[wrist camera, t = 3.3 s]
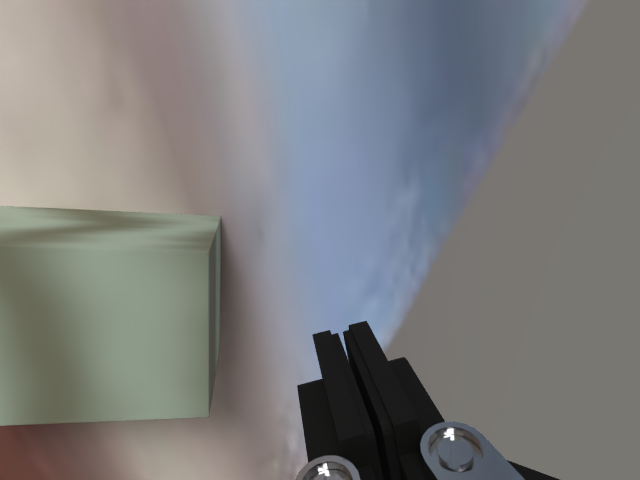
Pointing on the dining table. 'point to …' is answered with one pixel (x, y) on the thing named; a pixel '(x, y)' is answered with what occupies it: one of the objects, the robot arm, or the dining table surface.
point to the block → (107, 315)
